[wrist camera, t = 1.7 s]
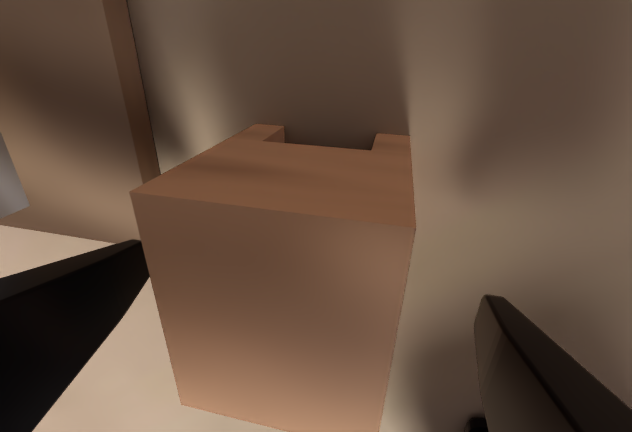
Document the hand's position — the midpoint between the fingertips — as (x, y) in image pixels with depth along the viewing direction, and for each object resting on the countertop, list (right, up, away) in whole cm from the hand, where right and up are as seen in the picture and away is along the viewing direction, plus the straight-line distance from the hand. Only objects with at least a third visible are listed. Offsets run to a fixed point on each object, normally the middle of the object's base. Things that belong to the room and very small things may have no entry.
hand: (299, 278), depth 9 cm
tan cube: (+1, +2, +3) cm, 4 cm away
